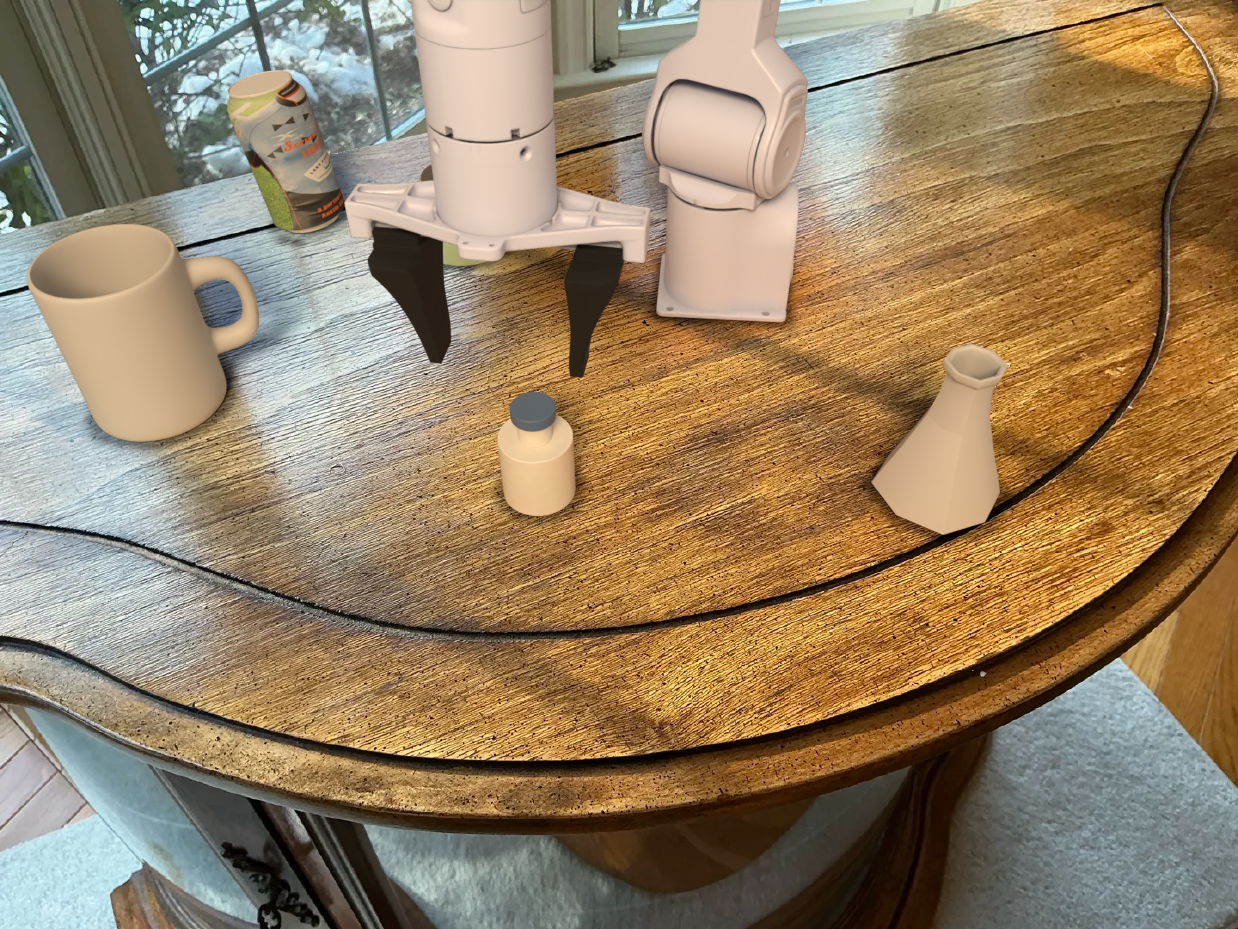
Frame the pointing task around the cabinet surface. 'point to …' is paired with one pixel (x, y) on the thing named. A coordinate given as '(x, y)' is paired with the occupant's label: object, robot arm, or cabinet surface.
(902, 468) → the flask
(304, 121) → the beverage can
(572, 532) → the cabinet surface
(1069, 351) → the cabinet surface
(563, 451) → the cream bottle
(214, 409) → the mug
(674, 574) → the cabinet surface
